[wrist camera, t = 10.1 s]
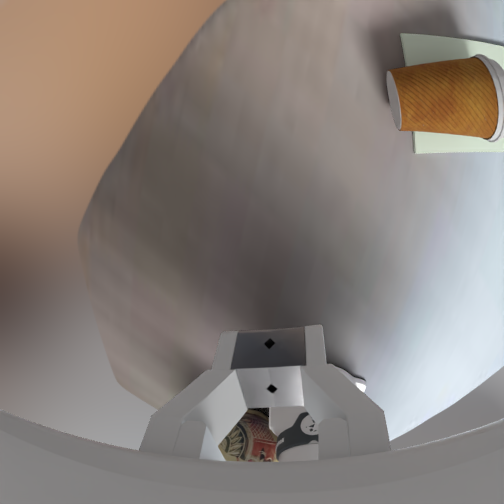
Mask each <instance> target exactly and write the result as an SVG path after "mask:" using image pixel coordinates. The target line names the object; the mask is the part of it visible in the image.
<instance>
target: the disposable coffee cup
mask: <svg viewBox="0 0 504 504" xmlns="http://www.w3.org/2000/svg"><path fill="white" fill-rule="evenodd" d="M387 89H388V96H389V101H390V106H391V111H392V115H393V118H394V121H395V124H396V127H397V129H398V130H399V131H418V132H431V133H443V134H453V135H463V136H472V137H480V138H483V139H484V140H487V141H489V142H497V141H499V140H500V139H501V138H504V70H503V69H502V67H501V66H500V65H499V64H498V63H497V62H496V61H494V60H492V59H489V58H488V57H487V56H485V55H483V54H476V55H474V56H472V57H470V58H465V59H454V60H447V61H439V62H432V63H425V64H418V65H412V66H407V67H402V68H396V69H391V70H388V71H387Z"/></svg>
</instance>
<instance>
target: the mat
mask: <svg viewBox="0 0 504 504" xmlns="http://www.w3.org/2000/svg"><path fill="white" fill-rule="evenodd" d="M400 37H401V42H402V48H403V54H404V60H405V66H406V67H407V66H412V65H418V64H425V63H432V62H439V61H447V60H454V59H465V58H470V57H472V56H474V55H476V54H483V55H485V56H487V57H488V58H489V59H492V60H494V61H496V62H497V63H498V64H499V65H500V66H501V67H502V69H503V70H504V47H503V46H499V45H494V44H489V43H484V42H478V41H472V40H466V39H459V38H452V37H443V36H434V35H422V34H407V33H401V34H400ZM413 143H414V153H415V154H421V153H447V152H504V138H501V139H500V140H499V141H497V142H489V141H487V140H484V139H483V138H480V137H472V136H463V135H453V134H443V133H431V132H418V131H413Z"/></svg>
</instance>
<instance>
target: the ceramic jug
mask: <svg viewBox="0 0 504 504" xmlns="http://www.w3.org/2000/svg"><path fill="white" fill-rule="evenodd" d="M276 445H277V436H276V435H275V434H274V433H273V432H272V430H271V429H270V428H269V419H268V417H267V416H266V415H264V414H263V413H261V412H259V411H256V410H251V409H248V410H247V411H246V412H245V414H244V415H243V416H242V417H241V419H240V420H239V421H238V422H237V424H236V425H235V426H234V427H233V428H232V430H231V431H230V432H229V433H228V434H227V436H226V437H225V438H224V439H223V440H222V441H221V443H220V444H219V445H218V448H219V450H220V451H221V453H222V455H223V457H224V459H225V460H226V461H240V462H278V460H277V458H276Z"/></svg>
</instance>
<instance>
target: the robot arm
mask: <svg viewBox="0 0 504 504" xmlns="http://www.w3.org/2000/svg"><path fill="white" fill-rule="evenodd" d="M365 388H366V382H365V381H364V380H362V379H359V378H355V377H353V376H351V375H350V374H349V373H348V372H346V371H345V370H343V369H341V368H339V367H335V366H334V365H333V364H327V362H326V353H325V343H324V335H323V326H322V325H321V324H320V325H311V326H305V327H294V328H282V329H268V330H241V331H223V332H222V333H221V335H220V338H219V342H218V346H217V350H216V353H215V357H214V361H213V365H212V369H211V370H206V371H205V372H203V373H202V374H201V375H200V376H199V377H198V378H196V379H195V380H194V381H193V382H192V383H191V384H189V385H188V386H187V387H186V388H185V389H183V390H182V391H181V392H180V393H179V394H177V395H176V396H175V397H174V398H173V399H171V400H170V401H169V402H168V403H166V404H165V405H164V406H163V407H162V408H160V409H159V410H158V411H157V412H155V413H154V414H153V415H152V416H151V418H150V421H149V424H148V427H147V429H146V432H145V435H144V438H143V440H142V443H141V446H140V448H139V451H138V450H133V449H128V448H123V447H118V446H114V445H109V444H105V443H101V442H97V441H93V440H89V439H85V438H82V437H78V436H74V435H71V434H68V433H64V432H61V431H58V430H55V429H52V428H49V427H46V426H43V425H40V424H37V423H35V422H32V421H29V420H26V419H24V418H21V417H19V416H16V415H14V414H11V413H9V412H6V411H4V410H2V409H0V504H504V419H501V420H498V421H495V422H493V423H490V424H488V425H485V426H482V427H479V428H476V429H473V430H470V431H467V432H464V433H461V434H457V435H454V436H450V437H447V438H443V439H440V440H436V441H432V442H428V443H424V444H419V445H415V446H411V447H406V448H401V449H396V450H391V447H390V441H389V436H388V430H387V425H386V420H385V415H384V411H383V410H382V409H381V408H380V407H379V406H378V405H377V404H376V403H374V402H373V401H372V400H371V399H370V398H369V397H368V396H367V395H366V394H364V391H365ZM266 407H269V428H270V429H271V430H272V432H273V433H274V434H275V435H276V436H277V445H276V458H277V460H278V462H240V461H226V460H225V459H224V457H223V455H222V453H221V451H220V450H219V448H218V445H219V444H220V443H221V441H222V440H223V439H224V438H225V437H226V436H227V434H228V433H229V432H230V431H231V430H232V428H233V427H234V426H235V425H236V424H237V422H238V421H239V420H240V419H241V417H242V416H243V415H244V414H245V412H246V411H247V410H248V409H247V408H266Z"/></svg>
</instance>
